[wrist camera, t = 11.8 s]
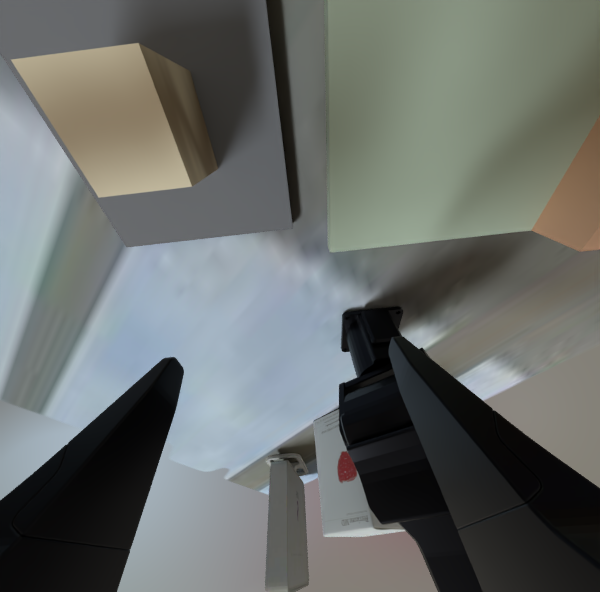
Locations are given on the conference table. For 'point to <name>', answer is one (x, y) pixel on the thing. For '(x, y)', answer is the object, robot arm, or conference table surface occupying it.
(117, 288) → the conference table surface
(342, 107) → the sliding cover
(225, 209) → the charcoal mat
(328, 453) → the supplement box
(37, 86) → the beech block
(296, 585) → the network device
